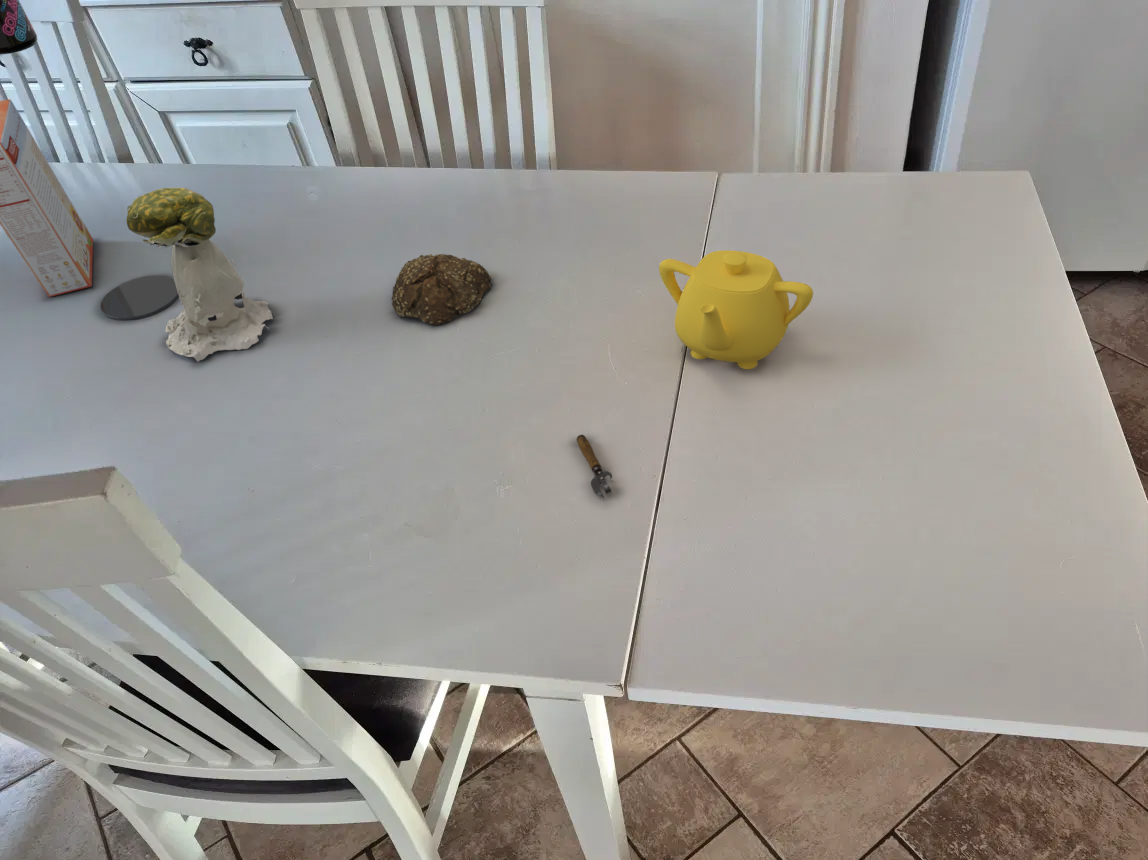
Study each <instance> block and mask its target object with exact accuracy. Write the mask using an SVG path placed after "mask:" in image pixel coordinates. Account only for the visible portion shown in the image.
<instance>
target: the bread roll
mask: <svg viewBox="0 0 1148 860" xmlns="http://www.w3.org/2000/svg"><path fill="white" fill-rule="evenodd" d="M491 282H492V276H491V275H490V273H489V271H488V270H487V269H486V268H485V267H484V266H483V265H482V264H480V263H478V262H476V261H474V260H471V259H466V258H465V257H462V258H459V257H457V256H454V255H452V254H446V253H439V254H435V255H433V254H430V253H429V254H426V255H424V254H420V255H419V256H418V257H416V258H415V257H414V258H413V259H412V260H407V262H405V263H404V265H403V266H402V267H401V269H400V271H399V273H398V275H397V277H396V278H395V284H394V286H393V287H392V296H391V306H392V308H393V310H394V312H395V313H396V314H397V315H398V316H399V317H401V318H416V319H418V320H421V321H422V322H424V323H425V324H428V325H431V326H432V325H433V326H439V325H442V324H446V323H449V322H451V321H453V320H454V319H455V317H457V316H461V315H464V314H467V313H469V312H471V311H472V310H474V308H476V307H477V306H478V305H479V304H480V302H481V301H482V297H483V295H484V294H485V293H486V292H488V291H489V290H490V289H491V287H492V285H491Z"/></svg>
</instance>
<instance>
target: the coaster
mask: <svg viewBox="0 0 1148 860" xmlns="http://www.w3.org/2000/svg"><path fill="white" fill-rule="evenodd" d="M178 298H179V294H178V291H177V288H176V284H175V281H174V277H171V276H167V275H161V274H160V275H159V274H156V275H146V276H140V277H136V278H133V279H130V280H128V281H125V282H122V283H121V284H118V285H116V286H115V287H114V288H112V289H111V290H110V291H108V292H107V293H106V294H105V296H104V297H103V298H102V300H101V301H100V310H101V312H102V314H103V315H104V316H106V317H107V318H109V319H112V320H116V321H133V320H139V319H143V318H147V317H150V316H153V315H156V314H157V313H159V312H162V311H164V310H165V309H167V308H168V307H170V306H171V305H172V304H173V303H175V301H177V299H178Z"/></svg>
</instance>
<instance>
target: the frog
mask: <svg viewBox="0 0 1148 860" xmlns="http://www.w3.org/2000/svg"><path fill="white" fill-rule="evenodd" d="M126 209H127V210H126V211H127V214H126V226H127V228H128V229H129V231H130V232H132V233H134V234H136V235H138V236H141V237H144V238H147V239H143V240H142V242H143V243H146V244H149V245H151V246H152V245H153V246H154V245H155V246H156V247H157V248H162V247H165V248H170V247H171V257H170V267H171V273H172V278H173V279H174V281H175V284H176V288H177V291H178V294H179V296H178V298H179V300H180V302H181V305H182V306H183V309H181V311H180V313H179V314H178V315H177V316H176V317H173V318H171V319H169V320H168V321H167V324H166V326H165V331H164V332H165V333H168V337H167V339H166V340H165V344H166V346H167V348H168V349H169V350H170V351H172V352H174V353H175V354H177V355H179V356H185V357H187V358H188V357H189V358H193V359H194V360H195V361H196V362H197V363H198V362H200V361H203V360H204V359H206V357H208V356H209V355H213V353H215V352H218V351H233V350H237V351H241V350H248V349H249V348H250V347H252V345H254V344H257V343H258V342H260V341H259V338H258V337H259V336H262V333H263V329H264V328H267V329H268V330H270V327H267V326H266V324H265V323H264V322H265V321H269V320H274V317H273V316H274V313H273V312H272V311H271V310H270V308H269V303H268V302H267V301H266V300H253V299H251V298H249V297H247V296H246V295H245V292H243V291H244V284H245V283H244V280H243V279H242V278H241V276H240V274H239V273H238V271H237V270H236V268H235V267H236V265H237V264H236V263H235V260H234V259H232V258H231V259H228V257H227V256H226V255H225V253H224V252H223V251H222V250H221V249H220V248H219V247H218V246H217V245H216V244H215V243H214V242H213V241H211V238H212V237H213V236H214V235H215V234H216V231H217V229H216V226H215V221H216V219H215V210H214V206H213V204H212V203H211V202H210V201H209V200H207V199H206V198H205V197H204V195H203V194H200V193H198V192H195V191H193V190H191V189H189V188H186V187H163V188H159V189H156V190H153V191H150V192H148V193H144V194H142V195H140V196H137V197H136V198H135V199H134V200H133V201H132V204H130V205H128V206H127V208H126ZM231 261H232V262H231ZM235 300H237V301H238V300H242V303H243V307H238V306H236V305H235ZM214 317H216V319H214V320H209V318H214Z"/></svg>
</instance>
